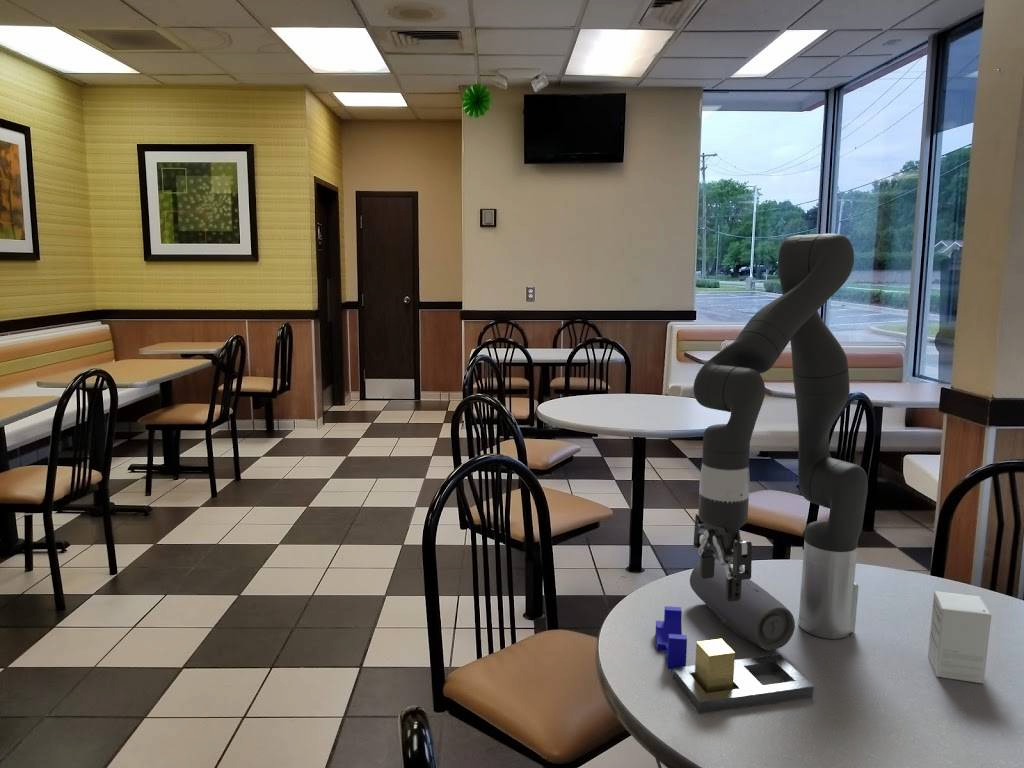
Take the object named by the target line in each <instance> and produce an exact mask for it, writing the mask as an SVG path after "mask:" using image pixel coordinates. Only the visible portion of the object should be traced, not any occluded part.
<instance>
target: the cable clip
mask: <svg viewBox="0 0 1024 768" xmlns="http://www.w3.org/2000/svg"><path fill="white" fill-rule="evenodd" d="M682 612H683V611H682V607H681V606H667V605H665V606H664V616H663V620H655V641H656V651H659V652H665V656H666V657H665V658H666V664H667V669H668V670H672V671H673V668H677V667H685V666H687V647H688V638H687V634H683V630H682V619H683V618H682Z"/></svg>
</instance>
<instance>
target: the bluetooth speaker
mask: <svg viewBox="0 0 1024 768" xmlns="http://www.w3.org/2000/svg"><path fill="white" fill-rule="evenodd" d="M700 563H701V560H700V561H698V562H697V563H696V565H695V566H694V568H693V569H692V571H691V574H690V576H689V585H690V588H691V589H692V591H693V593H695V595H696V596H697V597H698V598H699V599H700V600H701V601H702V602H703V603H704V604H706V606H707V607H708V608H709V609H711V610H712V611H713V612H714V613H715V615H716V616H718V617H719V619H720V620H721V622H723V624H725V625H726V626H728V627H729V629H731V630H732V631H734V632H735V633H736V634H737V635H738V636H740V637H741V638H743V639H744V640H747V641H751V642H752V643H754V644H755V645H757V646H758V647H760V648H762V649H764V650H767V651H773V650H777V649H781V648H783V647H784V646H786V645H787V644H788V643H789V642H790V641H791V639H792V637H793V635H794V633H795V630H796V624H795V623H796V622H795V618H794V615H793V614H792V611H790V610H789V609H788V608H787V606H785V605H784V604H783V603H782V602H781V601H779V599H777V598H775V597H774V596H773V595H772V594H771V593H769V592H768V591H767V590H765V589H764V588H762V587H761V586H760V585H758V583H756V582H754V581H752V580H751V579H745V580H742V583H741V598H740V600H739V601H732V602H729V601H728V600H727V599H726V578H727V575H726V571H725V567H724V566H723V565H722V564H721V563H720V560H719V559H716V558H715V567H714V577H712V578H706V579H703V578H702V577H701V576H700ZM731 569H732V571H733V567H731Z"/></svg>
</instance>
